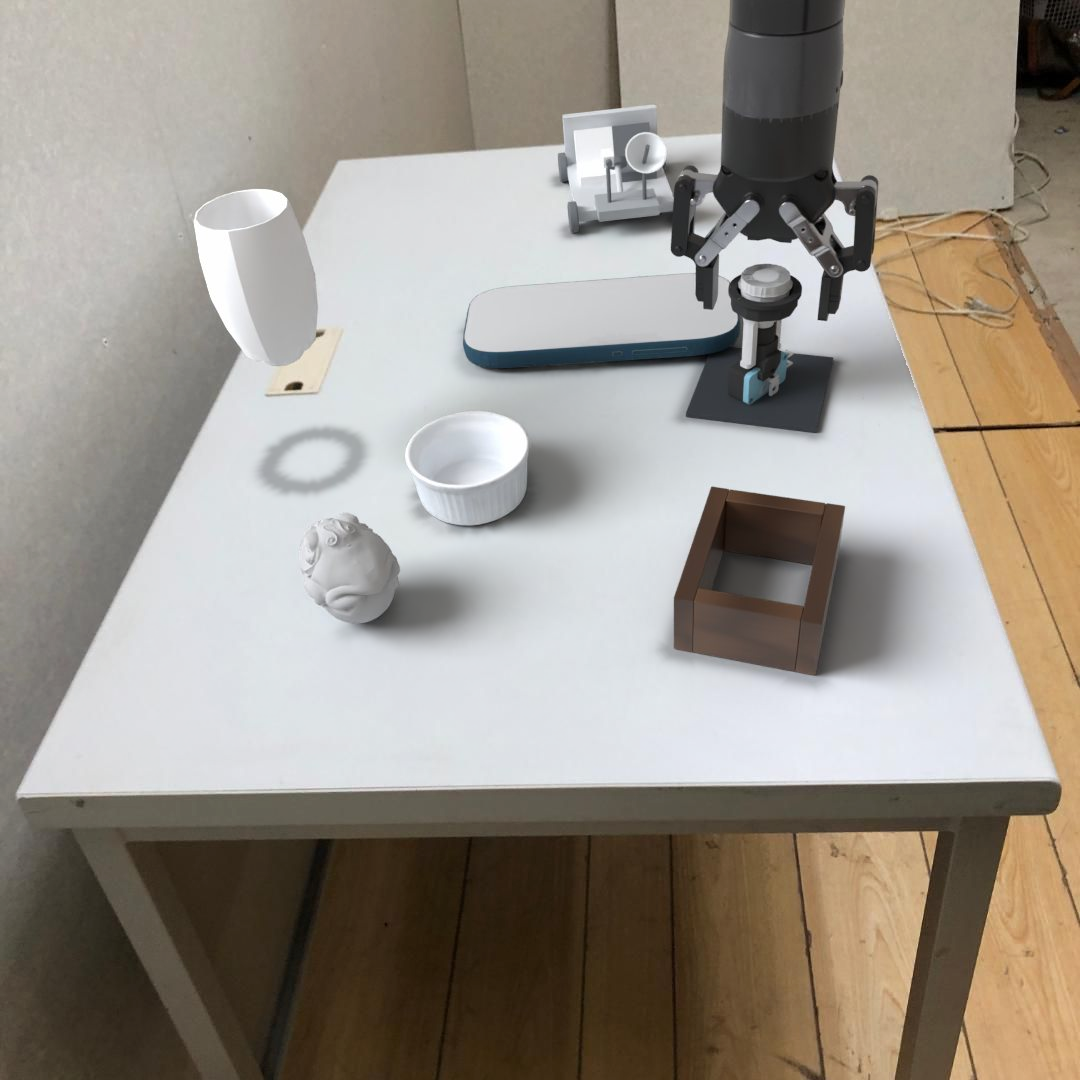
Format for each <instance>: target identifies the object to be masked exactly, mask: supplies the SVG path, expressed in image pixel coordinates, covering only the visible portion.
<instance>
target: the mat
mask: <svg viewBox="0 0 1080 1080" xmlns="http://www.w3.org/2000/svg"><path fill="white" fill-rule="evenodd" d="M740 352H741V347H739V346H738V347H736V346H731V347H729V348H727V349H725V350H723V351H720V352H716V353H711V354H707V358H706V361H705V363H704V366H703V368H702V371H701V373H700V376H699V378H698V381H697V383H696V386H695V389H694V391H693V394H692V396H691V398H690V402H689V404H688V406H687V409H686V412H685V417H686V418H693V419H702V420H710V421H716V422H717V421H718V422H726V423H732V424H733V423H735V424H742V425H751V426H758V427H765V428H772V429H773V428H774V429H781V430H790V431H798V432H806V433H813V434H816V433H817V429H818V426H819V421H820V417H821V413H822V410H823V405H824V401H825V397H826V393H827V389H828V384H829V380H830V377H831V371H832V368H833V363H834V357H833V356H824V355H813V354H805V353H794V352H793V353H794V354H793V355H792V356H790V357H789V358H788V359H787V360H789V361H791V362H793V364H792V365H790V366H789V367H787V368H786V369H787V370H786V377H785V380H784V381H783V382H782V383H781V384H779V388H778V391H777V392H776V393H775V394H773V395H772V396H770V395H769V392H767V393H766V394H765V395H763V396H762V397H760V398H759V399H757V400H756V401H754V402H753V403H752V404H750V405H749V404H747V403H745V402H743V401H740V400H738V399H736V398H734V397H732V396H730V395H728V374H729V368H730V367H731V366H732V365H734V364H735V363H737V362H738V361H740ZM787 354H788V353H787ZM788 355H789V354H788ZM787 365H788V363H787ZM774 389H775V388H773V389H772V391H774Z"/></svg>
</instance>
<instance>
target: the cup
mask: <svg viewBox="0 0 1080 1080" xmlns="http://www.w3.org/2000/svg"><path fill="white" fill-rule="evenodd" d="M193 225H194V233H195V239H196V243H197V244H196V245H197V251H198V257H199V258H198V259H199V262H200V266H201V269H202V273H203V277H204V280H205V283H206V287H207V290H208V294H209V297H210V300H211V301H212V304H213V305H214V307H215V309H216V311H217V313H218V315H219V317H220V319H221V321H222V323H223V325H224V327H225V329H226V330H227V332H228V333H229V334H230V336H231V337H232V338H233V340H234V341H235V342H236V344H237V345H238V347H239V348H240V349H241V351H242V352H243V353H244V355H245V356H246V357H247V358H249V359H250V360H251V359H252V360H253V361H256V362H262V363H264V364H267V365H269V366H271V367H285V366H288V365H291V364H294V363H295V362H297V361H299V360H300V359H301V358H302V356H303V355H304V353H305V352H306V351H307V350H309V349H310V348H311V347H312V345H313V344H314V343H315V341H316V339H317V326H318V314H319V310H318V309H319V304H318V303H319V302H318V293H317V292H318V291H317V280H316V279H317V278H316V272H315V269H314V265H313V262H312V259H311V255H310V251H309V248H308V245H307V242H306V238H305V235H304V233H303V231H302V228H301V225H300V223H299V221H298V219H297V217H296V214H295V212H294V210H293V207H292V205H291V203H290V200H289V199H288V198H287V197H286V196H285V195H284V194H283V193H282V192H279V191H276V190H272V189H267V188H266V189H265V188H251V189H243V190H236V191H233V192H230V193H225V194H222V195H219V196H217V197H215V198H213V199H211V200H209V201H207V202H205V203H204V204H203V205H201V207H200V208H198V210H196V211H195V214H194V219H193Z"/></svg>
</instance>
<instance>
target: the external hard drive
mask: <svg viewBox="0 0 1080 1080" xmlns="http://www.w3.org/2000/svg"><path fill="white" fill-rule="evenodd" d="M730 282H731V281H729V279H727V278H725V277H724V276H722V275H719V278H718V297H717V301H716V304H715V306H714V309H713V310H708V309H703V302H700V301H698V300H697V298H696V295H695V289H696V272H686V273H685V272H684V273H672V274H658V275H657V274H656V275H644V276H632V277H631V276H630V277H618V278H617V277H616V278H605V279H603V278H601V279H590V280H576V281H562V282H561V281H560V282H551V283H550V282H549V283H535V284H523V285H522V284H521V285H511V286H502V287H496V288H492V289H488V290H485V291H483V292H481V293H479V294H477V295H475V296H474V297H473V298H472V300H470V303H469V305H468V308H467V312H466V318H465V323H464V330H463V336H462V347H463V351H464V354H465V357H466V359H467V360H468V361H469V362H470V363H471V364H474V365H475V366H478V367H481V368H482V367H483V368H487V369H512V368H513V369H515V368H528V367H529V368H530V367H531V368H532V367H547V366H558V365H559V366H561V365H573V364H574V365H576V364H591V363H604V362H605V363H606V362H620V361H634V360H648V359H649V360H652V359H662V358H663V359H664V358H665V359H667V358H681V357H694V356H695V357H696V356H705V355H709V354H711V353H716V352H720V351H723V350H725V349H727V348H729V347H733V346H734V344H735V343H736V342H737V341H738V339H739V337H740V333H741V317H740V315H738V314H737V313H735V312H734V311H733V310H732V307H731V298H730V297H729V294H728V287H729V284H730Z"/></svg>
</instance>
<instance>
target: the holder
mask: <svg viewBox="0 0 1080 1080" xmlns="http://www.w3.org/2000/svg"><path fill="white" fill-rule="evenodd" d="M845 512H846V505H843V504H835V503H828V502H827V503H825V502H821V501H815V500H806V499H800V498H793V497H787V496H786V497H785V496H780V495H773V494H765V493H760V492H759V493H758V492H751V491H745V490H737V489H729V488H727V487H726V488H725V487H720V486H719V487H718V486H711V487H710V489H709V492H708V495H707V497H706V501H705V504H704V507H703V510H702V513H701V515H700V518H699V522H698V524H697V528H696V531H695V533H694V537H693V540H692V543H691V545H690V548H689V550H688V551H689V552H688V554H687V557H686V560H685V563H684V566H683V570H682V572H681V575H680V578H679V581H678V583H677V587H676V590H675V593H674V595H673V649H675V650H679V651H684V652H690V653H694V654H699V655H700V654H701V655H706V656H710V657H715V658H716V657H717V658H721V659H727V660H731V661H732V660H733V661H737V662H741V663H748V664H753V665H759V666H763V667H768V668H774V669H778V670H779V669H780V670H785V671H790V672H795V673H800V674H806V675H811V676H815V675H816V674H817V669H818V663H819V659H820V655H821V654H820V653H821V649H822V644H823V643H822V642H823V638H824V632H825V626H826V622H827V616H828V611H829V607H830V601H831V597H832V591H833V586H834V580H835V574H836V570H837V566H838V559H839V554H840V546H841V539H842V534H843V533H842V532H843V525H844V518H845ZM724 551H726V552H733V553H737V554H744V555H750V556H756V557H763V558H768V559H774V560H782V561H787V562H794V563H800V564H805V565H806V564H807V565H812V567H811V571H810V576H809V582H808V586H807V591H806V595H805V600H804V605H799V604H792V603H787V602H782V601H777V600H776V601H775V600H770V599H766V598H765V599H764V598H758V597H753V596H746V595H742V594H735V593H729V592H723V591H718V590H712V589H713V586H714V583H715V579H716V576H717V573H718V570H719V567H720V563H721V560H722V557H723V554H724Z"/></svg>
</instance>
